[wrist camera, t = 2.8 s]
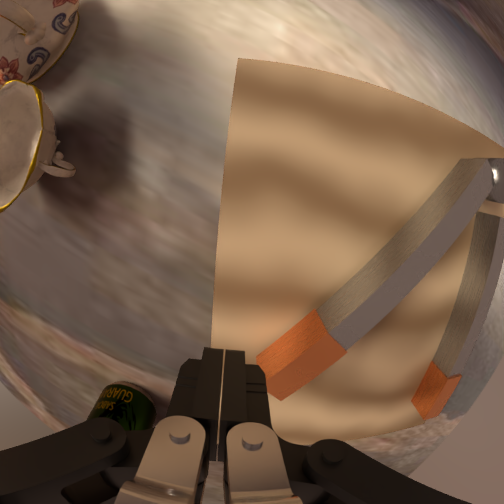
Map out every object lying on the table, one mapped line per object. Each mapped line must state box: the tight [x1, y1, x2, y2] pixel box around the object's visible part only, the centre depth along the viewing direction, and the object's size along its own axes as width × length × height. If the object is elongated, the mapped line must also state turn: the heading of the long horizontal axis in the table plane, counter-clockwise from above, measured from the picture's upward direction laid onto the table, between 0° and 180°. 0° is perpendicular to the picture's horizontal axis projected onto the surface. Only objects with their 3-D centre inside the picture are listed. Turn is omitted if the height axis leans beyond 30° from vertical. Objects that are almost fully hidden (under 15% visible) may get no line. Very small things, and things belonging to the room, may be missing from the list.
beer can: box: [86, 381, 156, 431], centre depth 15 cm, size 5×5×12 cm
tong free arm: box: [256, 158, 504, 401], centre depth 14 cm, size 23×4×3 cm, turn 134°
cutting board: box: [211, 58, 504, 445], centre depth 18 cm, size 30×24×2 cm
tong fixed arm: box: [411, 211, 504, 420], centre depth 17 cm, size 18×2×3 cm, turn 174°
